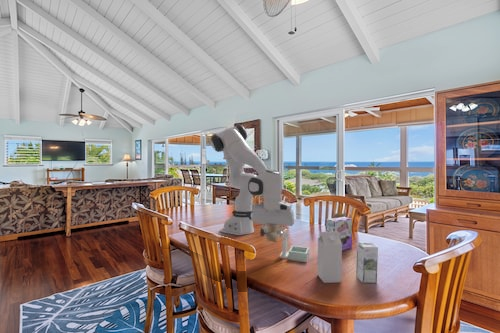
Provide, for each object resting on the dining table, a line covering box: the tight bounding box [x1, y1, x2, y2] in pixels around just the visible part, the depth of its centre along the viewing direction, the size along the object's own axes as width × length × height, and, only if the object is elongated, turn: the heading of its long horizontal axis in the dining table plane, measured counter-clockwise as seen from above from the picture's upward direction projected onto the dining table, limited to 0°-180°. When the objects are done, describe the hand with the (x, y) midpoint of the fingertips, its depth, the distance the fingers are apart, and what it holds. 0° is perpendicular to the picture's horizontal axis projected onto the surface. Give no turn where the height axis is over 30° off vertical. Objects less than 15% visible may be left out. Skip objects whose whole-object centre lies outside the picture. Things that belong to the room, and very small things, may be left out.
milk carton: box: [317, 231, 343, 284], centre depth 102 cm, size 7×7×19 cm
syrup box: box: [355, 241, 379, 284], centre depth 101 cm, size 6×6×14 cm
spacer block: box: [265, 224, 280, 243], centre depth 121 cm, size 5×5×8 cm
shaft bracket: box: [278, 228, 310, 263], centre depth 125 cm, size 13×9×13 cm, turn 70°
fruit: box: [331, 212, 347, 219], centre depth 158 cm, size 11×11×15 cm
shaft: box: [259, 227, 289, 237], centre depth 128 cm, size 13×4×4 cm, turn 70°
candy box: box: [325, 216, 353, 251], centre depth 137 cm, size 14×6×16 cm, turn 117°
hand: (272, 233), depth 121 cm, fingers closed on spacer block, 5 cm apart
